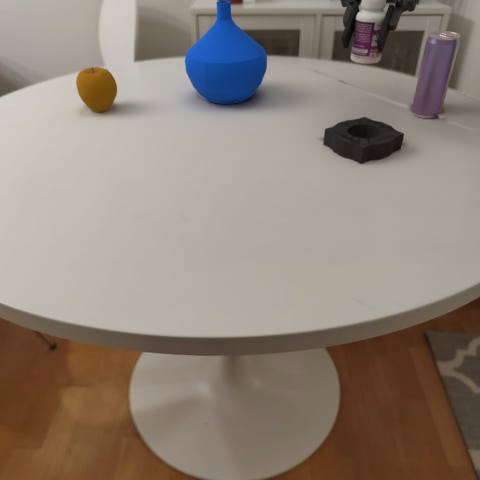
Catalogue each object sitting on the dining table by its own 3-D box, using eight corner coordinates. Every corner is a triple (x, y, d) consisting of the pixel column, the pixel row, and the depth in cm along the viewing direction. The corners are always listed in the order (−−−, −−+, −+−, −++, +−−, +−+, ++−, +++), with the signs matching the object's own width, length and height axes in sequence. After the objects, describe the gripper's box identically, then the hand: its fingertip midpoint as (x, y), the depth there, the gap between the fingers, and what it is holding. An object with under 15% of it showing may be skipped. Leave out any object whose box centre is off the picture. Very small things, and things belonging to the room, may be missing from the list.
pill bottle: (374, 66, 79) (384, 1, 73) (345, 62, 81) (352, -1, 75) (385, 58, 82) (395, -5, 76) (357, 54, 85) (364, -7, 78)
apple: (129, 107, 103) (121, 65, 98) (101, 119, 98) (91, 76, 92) (102, 100, 107) (93, 60, 101) (74, 112, 102) (63, 70, 96)
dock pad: (406, 149, 83) (410, 133, 81) (360, 166, 79) (363, 150, 77) (362, 129, 90) (364, 114, 88) (317, 143, 86) (319, 128, 84)
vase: (186, 113, 100) (176, 12, 87) (190, 85, 113) (182, -5, 101) (269, 109, 100) (271, 9, 87) (263, 83, 114) (264, -8, 101)
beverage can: (427, 121, 93) (447, 39, 83) (404, 112, 96) (421, 33, 87) (446, 114, 95) (468, 34, 85) (423, 106, 99) (441, 29, 89)
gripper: (461, -67, 77) (417, 63, 77) (356, -67, 84) (315, 52, 84) (465, -108, 70) (417, 36, 70) (350, -104, 77) (306, 26, 77)
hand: (361, 44), depth 77 cm, fingers closed on pill bottle, 5 cm apart
